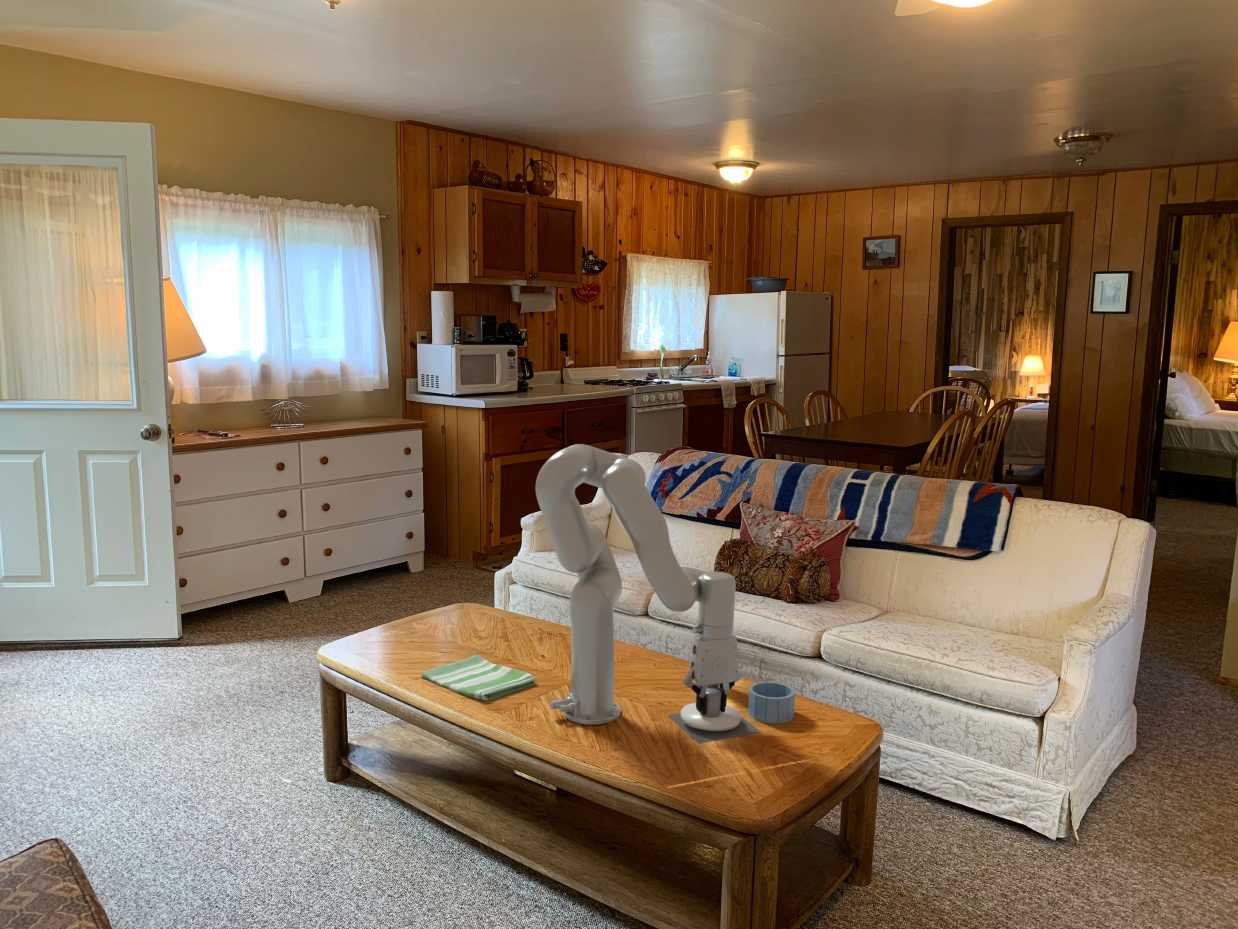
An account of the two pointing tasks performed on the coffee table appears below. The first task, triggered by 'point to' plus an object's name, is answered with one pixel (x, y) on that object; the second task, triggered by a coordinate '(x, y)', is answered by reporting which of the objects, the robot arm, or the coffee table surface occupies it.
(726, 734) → the mat
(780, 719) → the bowl
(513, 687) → the dish towel
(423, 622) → the coffee table surface
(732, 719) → the lid
